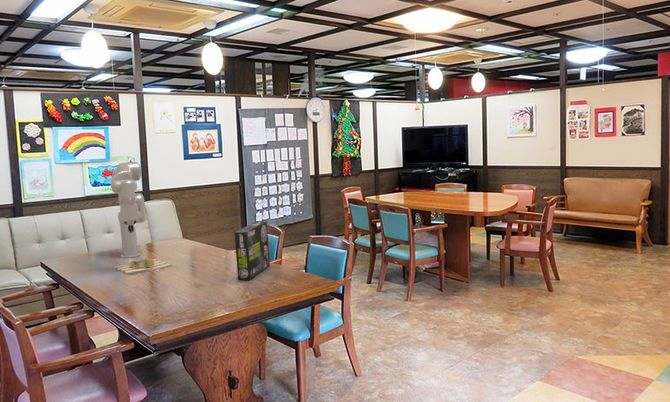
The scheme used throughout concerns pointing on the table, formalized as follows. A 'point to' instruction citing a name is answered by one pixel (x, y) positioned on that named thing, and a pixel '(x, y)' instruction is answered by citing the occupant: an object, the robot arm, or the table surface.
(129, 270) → the base
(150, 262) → the ring nut
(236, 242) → the box
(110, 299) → the table surface
